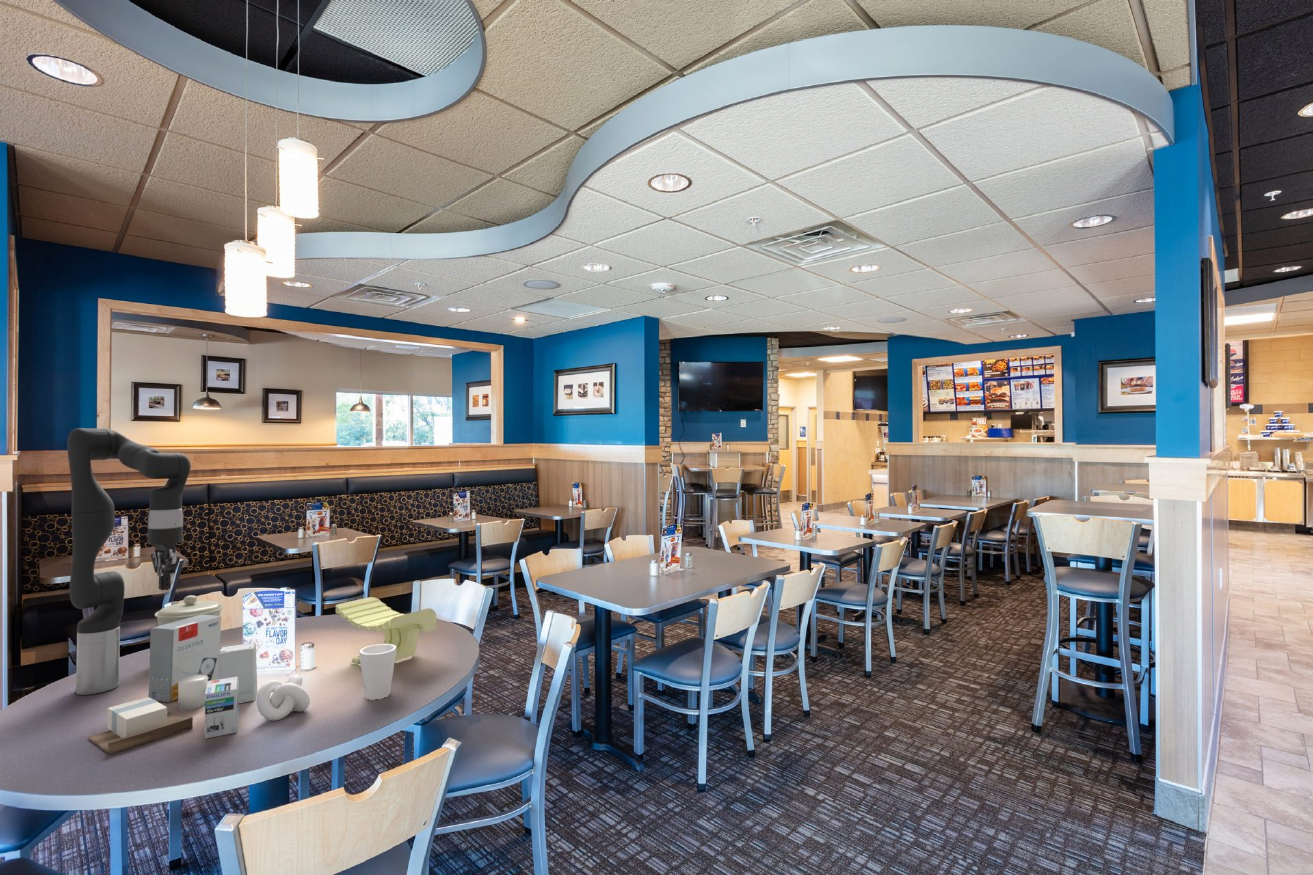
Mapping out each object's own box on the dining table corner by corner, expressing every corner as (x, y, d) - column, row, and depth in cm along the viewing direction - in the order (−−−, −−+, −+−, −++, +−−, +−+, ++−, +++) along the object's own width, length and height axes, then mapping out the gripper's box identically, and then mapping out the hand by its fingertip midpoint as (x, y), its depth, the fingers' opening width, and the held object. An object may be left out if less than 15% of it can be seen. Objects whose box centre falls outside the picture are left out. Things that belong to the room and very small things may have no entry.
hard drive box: (169, 703, 168) (171, 629, 168) (147, 701, 170) (148, 628, 170) (220, 682, 183) (221, 614, 184) (199, 680, 185) (200, 613, 185)
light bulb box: (237, 732, 151) (238, 688, 151) (203, 739, 147) (204, 694, 147) (238, 717, 160) (239, 675, 160) (206, 723, 156) (207, 680, 156)
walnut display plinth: (88, 739, 147) (88, 728, 147) (169, 714, 161) (169, 704, 161) (109, 754, 140) (109, 743, 140) (192, 727, 153) (192, 717, 153)
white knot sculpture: (262, 708, 165) (262, 674, 165) (313, 701, 170) (313, 668, 170) (253, 725, 155) (254, 689, 155) (308, 717, 159) (308, 682, 159)
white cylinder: (173, 706, 166) (174, 680, 166) (201, 698, 171) (201, 673, 171) (183, 712, 163) (184, 685, 163) (211, 703, 168) (212, 677, 168)
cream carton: (107, 707, 152) (126, 719, 145) (148, 696, 158) (167, 707, 152) (107, 728, 152) (125, 741, 145) (147, 716, 158) (167, 727, 152)
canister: (148, 660, 202) (149, 596, 202) (214, 647, 216) (215, 586, 216) (161, 673, 190) (162, 605, 190) (230, 658, 204) (231, 594, 204)
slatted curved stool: (436, 660, 202) (436, 606, 203) (393, 675, 189) (393, 617, 189) (378, 645, 218) (378, 594, 218) (335, 658, 204) (335, 604, 204)
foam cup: (403, 692, 176) (403, 646, 176) (376, 704, 167) (376, 656, 168) (379, 686, 180) (379, 642, 180) (351, 698, 171) (352, 651, 172)
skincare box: (257, 694, 174) (258, 641, 175) (254, 702, 169) (254, 647, 169) (221, 699, 171) (222, 645, 171) (217, 707, 165) (218, 651, 166)
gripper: (192, 526, 168) (191, 589, 168) (172, 522, 176) (171, 583, 175) (158, 528, 162) (157, 595, 162) (139, 525, 169) (138, 588, 169)
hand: (164, 589), depth 168 cm, fingers closed
